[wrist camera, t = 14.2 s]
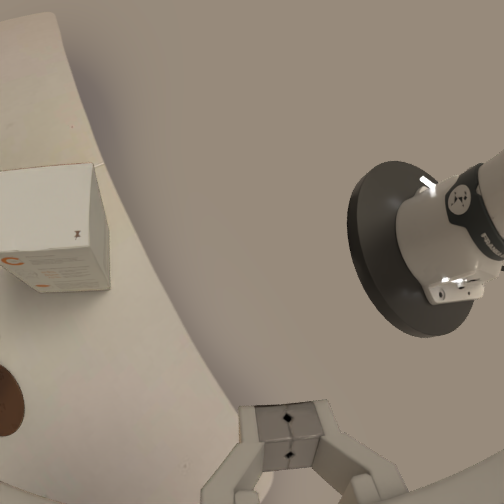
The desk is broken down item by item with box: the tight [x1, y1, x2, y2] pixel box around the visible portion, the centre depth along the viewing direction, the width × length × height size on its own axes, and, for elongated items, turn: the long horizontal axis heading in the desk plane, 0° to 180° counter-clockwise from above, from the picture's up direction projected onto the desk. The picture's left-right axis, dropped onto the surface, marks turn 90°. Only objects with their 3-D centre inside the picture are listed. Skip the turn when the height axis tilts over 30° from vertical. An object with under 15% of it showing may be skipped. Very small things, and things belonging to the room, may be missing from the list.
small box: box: [0, 163, 111, 293], centre depth 23 cm, size 8×6×13 cm
